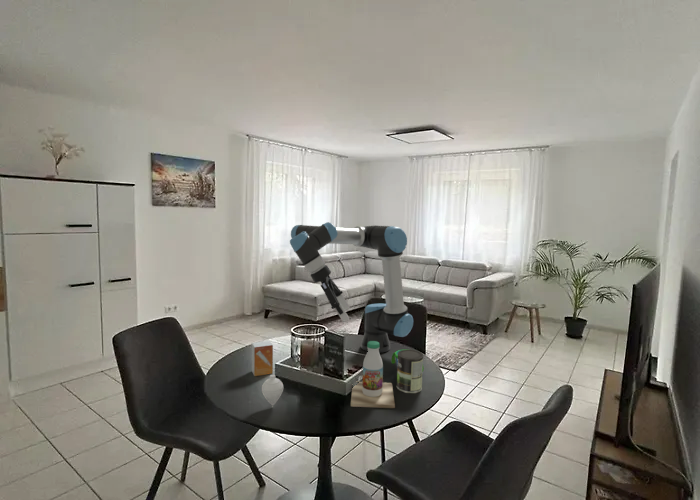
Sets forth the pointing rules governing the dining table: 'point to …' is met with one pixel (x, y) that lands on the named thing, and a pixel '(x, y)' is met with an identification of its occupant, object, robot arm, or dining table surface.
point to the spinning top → (272, 389)
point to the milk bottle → (372, 371)
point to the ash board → (380, 401)
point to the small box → (262, 358)
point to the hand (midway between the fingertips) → (346, 314)
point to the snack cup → (397, 357)
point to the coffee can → (409, 371)
